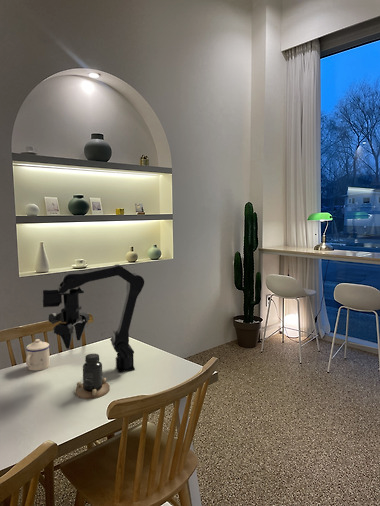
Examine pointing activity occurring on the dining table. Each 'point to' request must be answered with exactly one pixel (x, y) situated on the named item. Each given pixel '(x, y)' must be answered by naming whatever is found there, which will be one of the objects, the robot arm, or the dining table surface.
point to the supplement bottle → (92, 373)
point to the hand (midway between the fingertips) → (73, 344)
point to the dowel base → (94, 394)
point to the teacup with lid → (38, 355)
